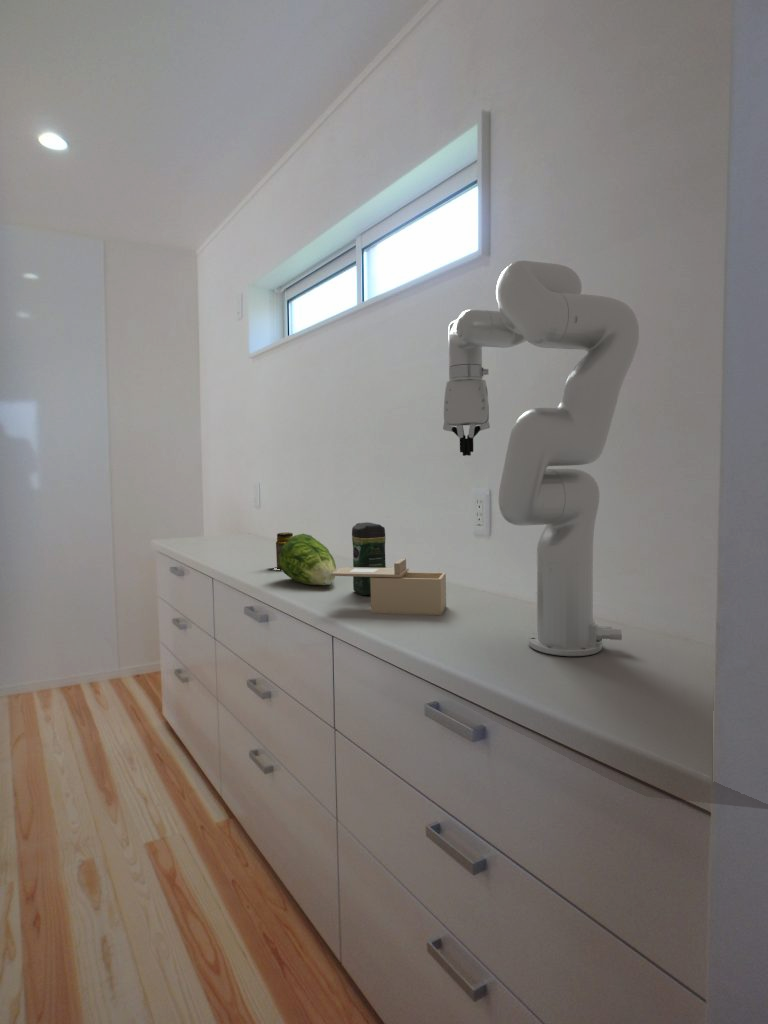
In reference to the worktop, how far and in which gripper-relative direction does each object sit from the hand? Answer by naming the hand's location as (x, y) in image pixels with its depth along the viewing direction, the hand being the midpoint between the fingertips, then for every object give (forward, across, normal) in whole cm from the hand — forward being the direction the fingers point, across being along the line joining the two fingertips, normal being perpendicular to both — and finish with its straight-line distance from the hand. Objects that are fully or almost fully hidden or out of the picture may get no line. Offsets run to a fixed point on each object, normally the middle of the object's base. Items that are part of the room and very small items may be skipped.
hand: (466, 455), depth 136 cm
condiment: (+35, +66, -43) cm, 86 cm away
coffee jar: (+35, +27, -10) cm, 46 cm away
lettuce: (+35, +47, -21) cm, 63 cm away
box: (+35, +13, +7) cm, 38 cm away
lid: (+27, +22, +7) cm, 36 cm away
